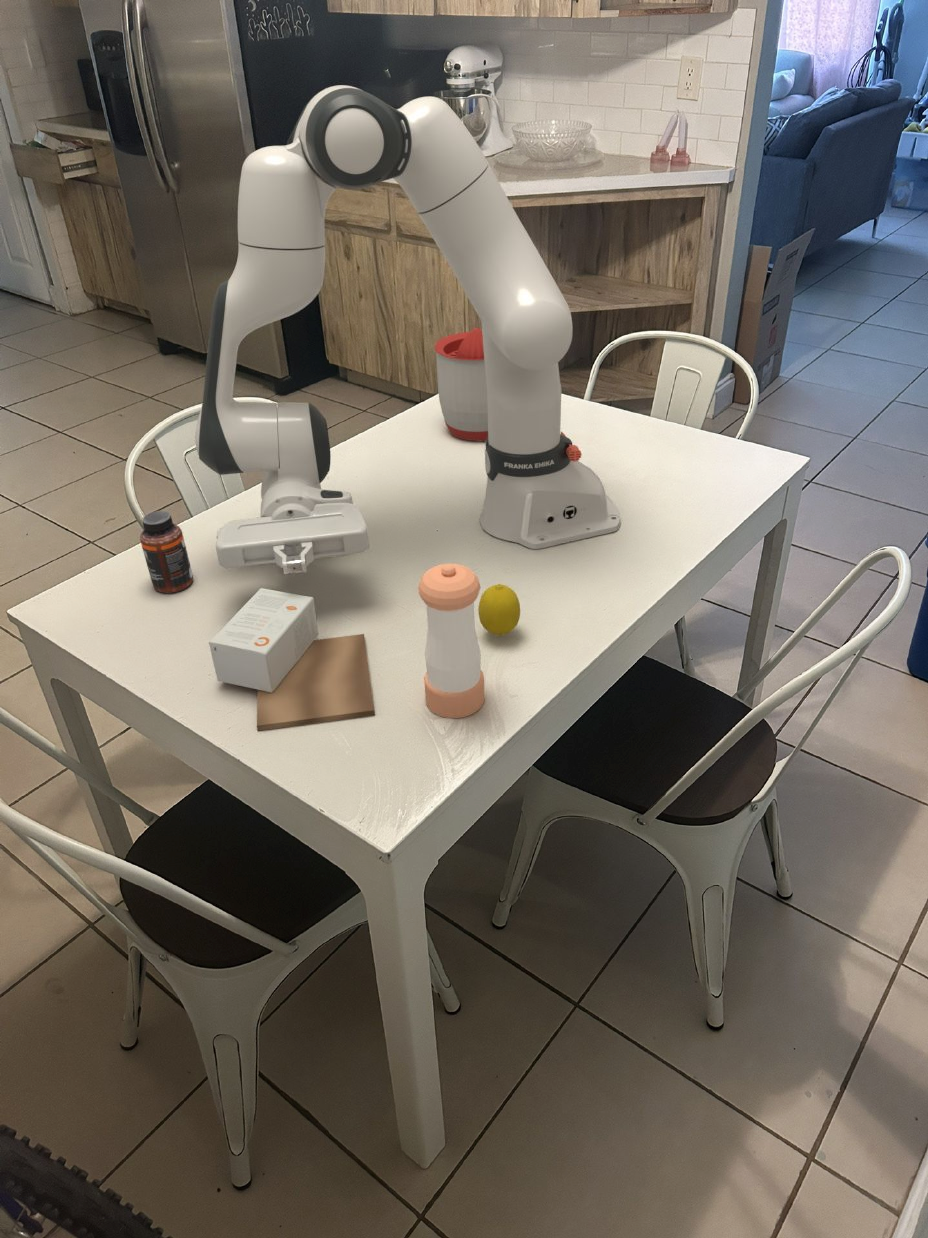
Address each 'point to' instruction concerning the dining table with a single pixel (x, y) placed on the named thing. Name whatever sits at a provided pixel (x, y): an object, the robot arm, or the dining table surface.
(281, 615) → the small box
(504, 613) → the lemon
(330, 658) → the walnut board
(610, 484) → the dining table surface
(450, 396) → the citrus juicer
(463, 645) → the pepper shaker
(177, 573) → the supplement bottle
